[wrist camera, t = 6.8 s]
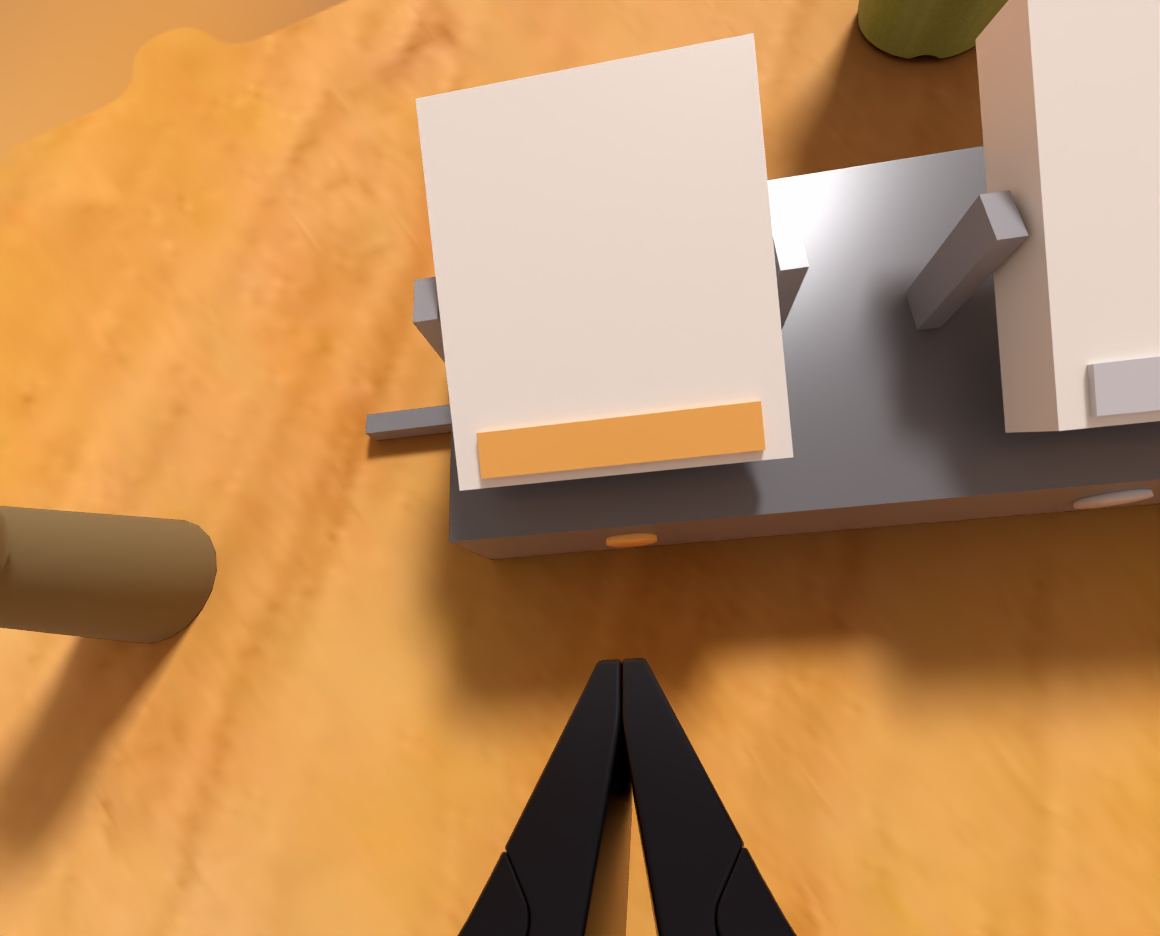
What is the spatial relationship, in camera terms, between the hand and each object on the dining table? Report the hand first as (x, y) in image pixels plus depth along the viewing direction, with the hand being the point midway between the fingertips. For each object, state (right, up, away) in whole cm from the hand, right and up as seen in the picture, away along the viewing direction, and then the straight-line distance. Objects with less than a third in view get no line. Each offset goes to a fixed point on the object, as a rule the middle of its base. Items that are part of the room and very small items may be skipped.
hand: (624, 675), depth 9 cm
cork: (-22, -2, +16) cm, 27 cm away
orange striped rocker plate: (0, +9, +7) cm, 12 cm away
